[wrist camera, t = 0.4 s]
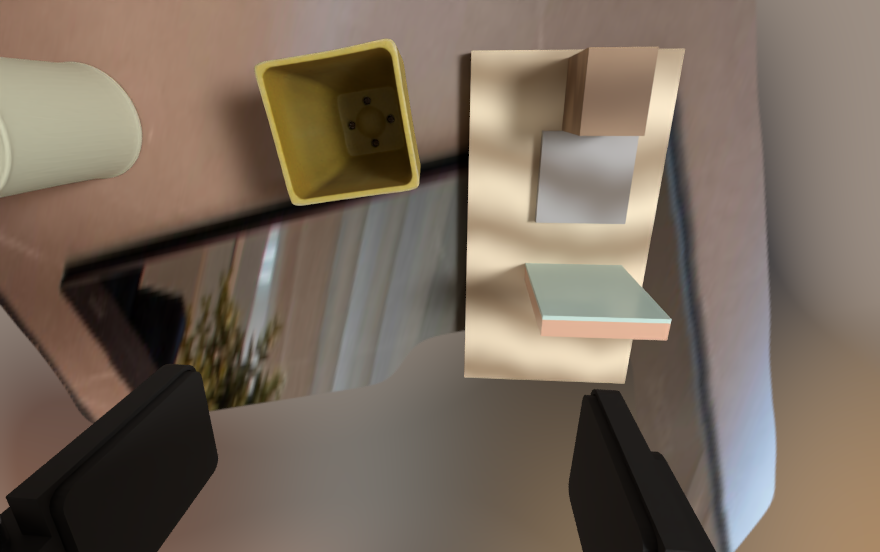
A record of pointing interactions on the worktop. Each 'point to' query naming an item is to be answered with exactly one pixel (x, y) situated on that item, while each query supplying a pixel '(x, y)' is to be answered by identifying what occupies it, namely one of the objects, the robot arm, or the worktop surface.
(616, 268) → the tile
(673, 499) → the robot arm
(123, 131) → the can
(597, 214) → the block on grey plate
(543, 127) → the board
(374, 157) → the flower pot
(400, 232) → the worktop surface
